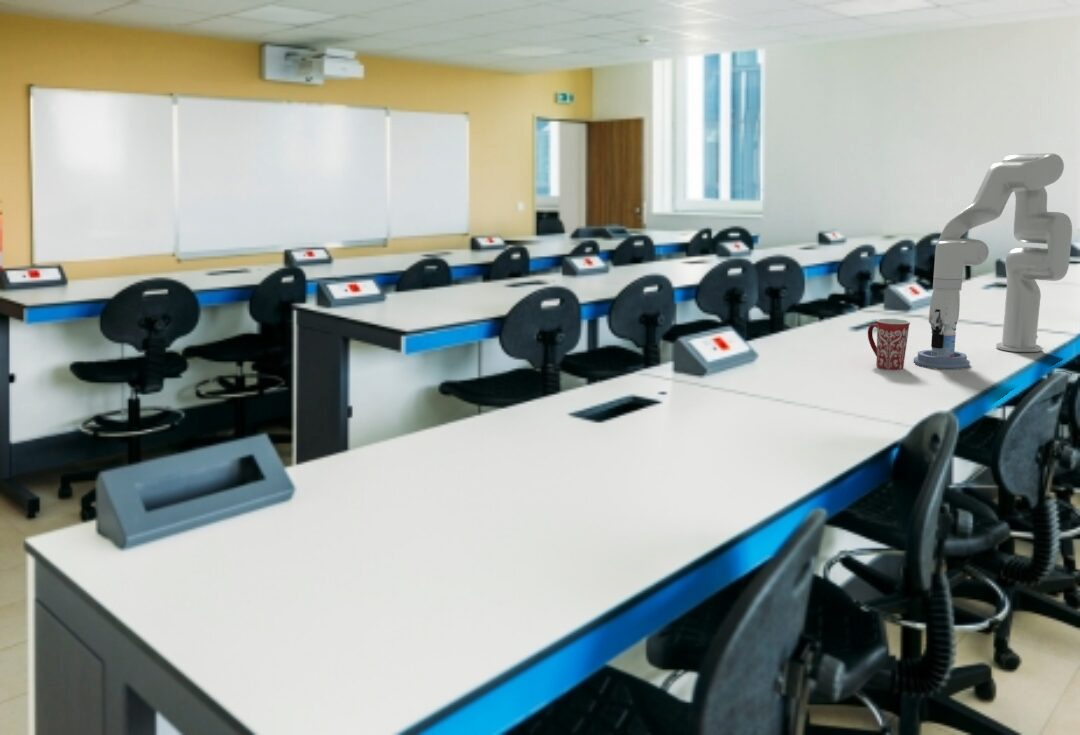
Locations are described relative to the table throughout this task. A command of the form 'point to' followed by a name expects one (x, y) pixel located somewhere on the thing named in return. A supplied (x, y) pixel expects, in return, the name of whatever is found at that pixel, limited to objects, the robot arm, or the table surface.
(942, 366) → the round tray
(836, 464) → the table surface
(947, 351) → the pill bottle
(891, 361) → the mug
